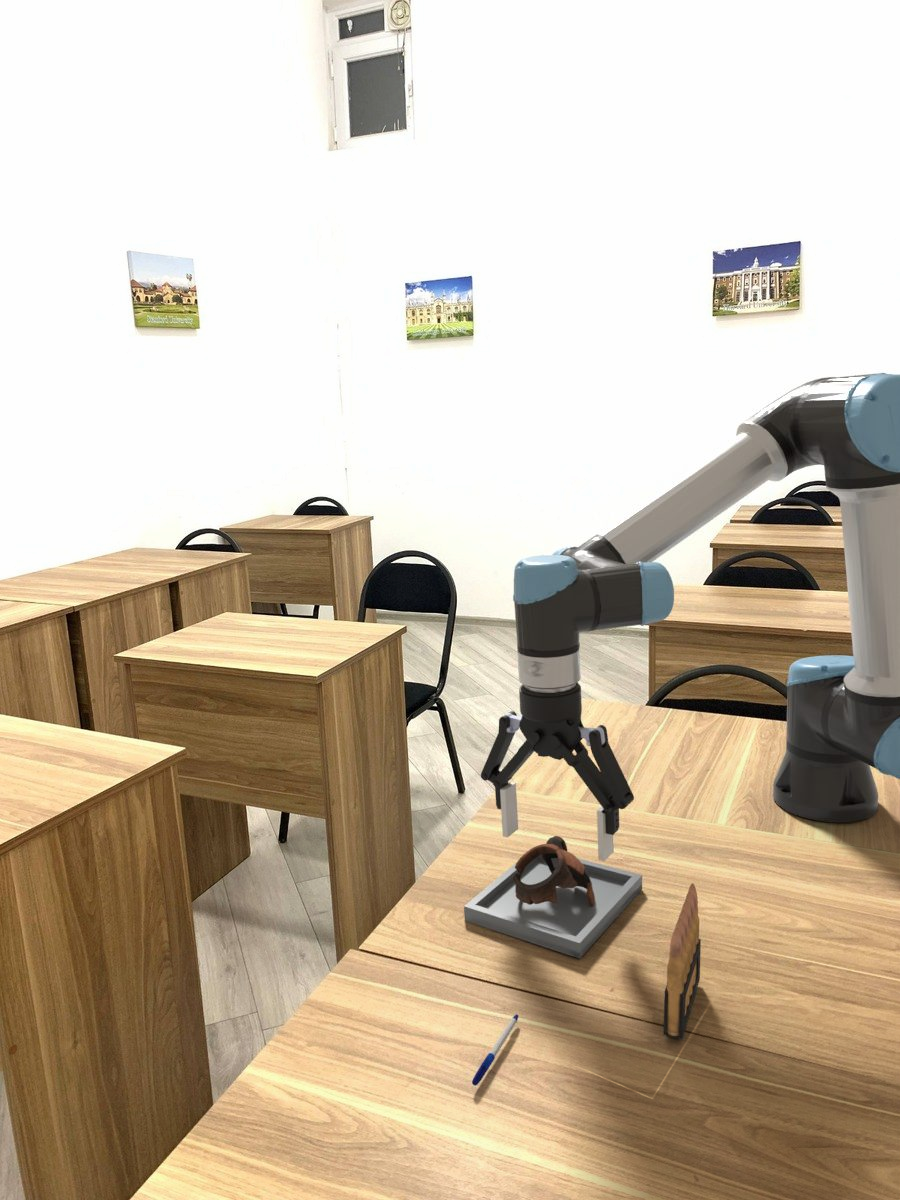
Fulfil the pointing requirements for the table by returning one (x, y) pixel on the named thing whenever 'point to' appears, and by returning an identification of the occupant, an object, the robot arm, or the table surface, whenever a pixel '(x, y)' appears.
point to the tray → (555, 907)
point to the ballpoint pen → (494, 1051)
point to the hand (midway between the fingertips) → (556, 844)
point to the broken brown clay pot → (563, 871)
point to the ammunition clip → (682, 968)
